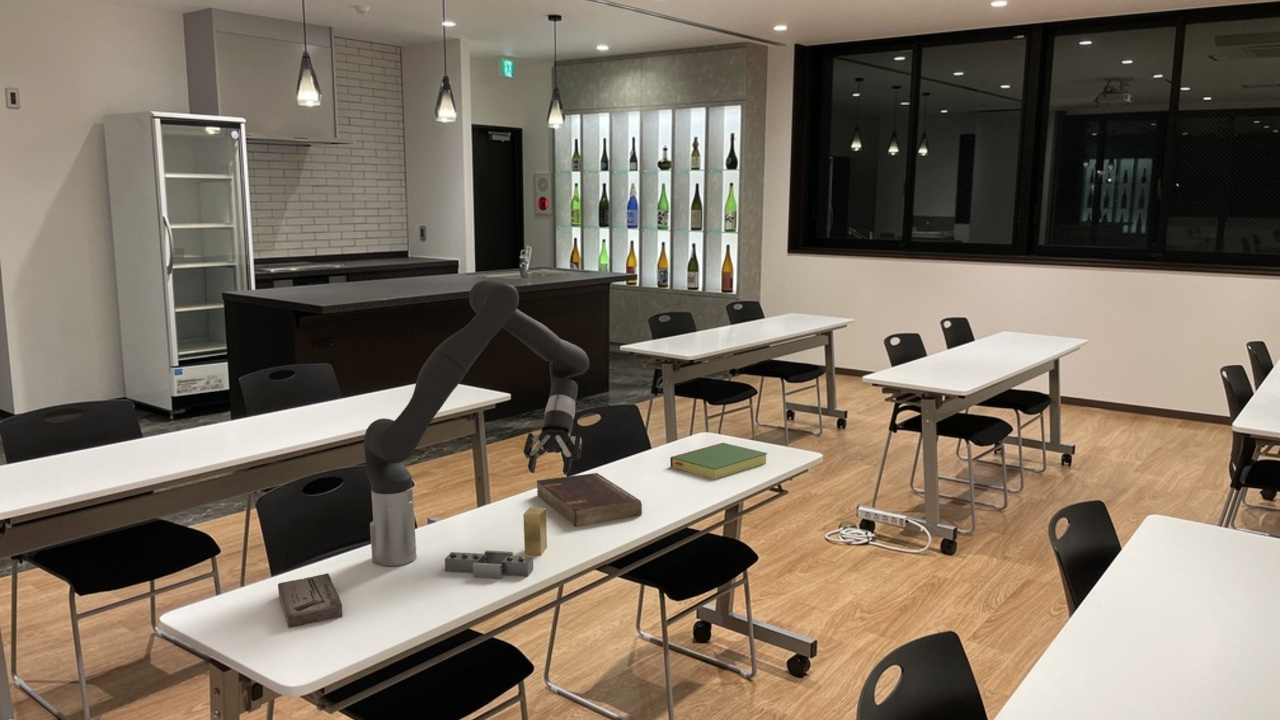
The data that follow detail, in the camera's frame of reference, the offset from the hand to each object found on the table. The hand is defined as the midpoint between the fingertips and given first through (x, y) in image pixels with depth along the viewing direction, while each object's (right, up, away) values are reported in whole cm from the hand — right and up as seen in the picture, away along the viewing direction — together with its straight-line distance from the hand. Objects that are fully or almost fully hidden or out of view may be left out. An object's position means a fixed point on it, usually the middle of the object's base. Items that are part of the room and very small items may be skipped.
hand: (548, 472), depth 232 cm
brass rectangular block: (-2, -18, -9) cm, 20 cm away
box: (-46, -24, -38) cm, 64 cm away
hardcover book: (+47, -6, +61) cm, 78 cm away
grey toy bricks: (-10, -20, -20) cm, 30 cm away
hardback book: (+8, -13, +25) cm, 29 cm away
